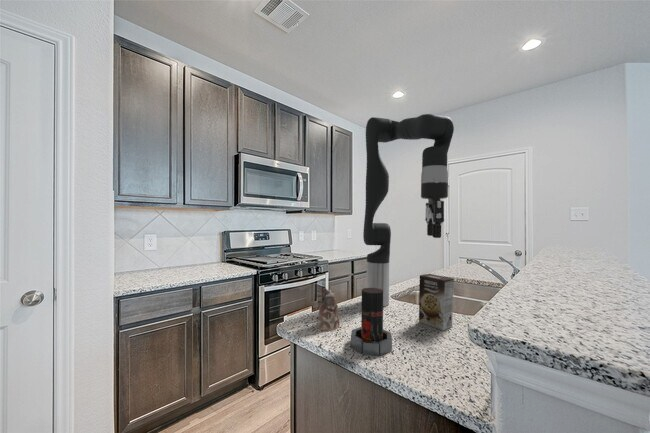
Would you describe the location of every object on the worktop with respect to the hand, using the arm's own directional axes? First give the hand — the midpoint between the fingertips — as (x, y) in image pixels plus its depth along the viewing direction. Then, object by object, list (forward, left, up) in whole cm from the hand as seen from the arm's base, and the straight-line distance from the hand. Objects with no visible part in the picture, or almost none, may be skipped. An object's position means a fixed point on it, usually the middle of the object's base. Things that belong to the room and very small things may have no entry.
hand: (433, 236), depth 84 cm
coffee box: (-11, +3, -30) cm, 32 cm away
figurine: (-2, -32, -30) cm, 44 cm away
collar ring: (+9, -18, -30) cm, 36 cm away
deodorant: (+9, -18, -30) cm, 36 cm away
